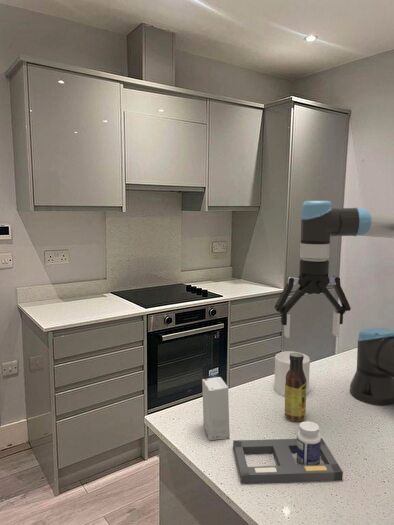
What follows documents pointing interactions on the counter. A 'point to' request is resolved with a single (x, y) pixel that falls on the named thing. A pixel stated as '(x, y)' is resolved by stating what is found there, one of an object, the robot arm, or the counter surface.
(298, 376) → the sauce bottle
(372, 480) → the counter surface
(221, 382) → the skincare box
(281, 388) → the cup
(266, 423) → the counter surface
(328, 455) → the socket panel
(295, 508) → the counter surface
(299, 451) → the pill bottle
